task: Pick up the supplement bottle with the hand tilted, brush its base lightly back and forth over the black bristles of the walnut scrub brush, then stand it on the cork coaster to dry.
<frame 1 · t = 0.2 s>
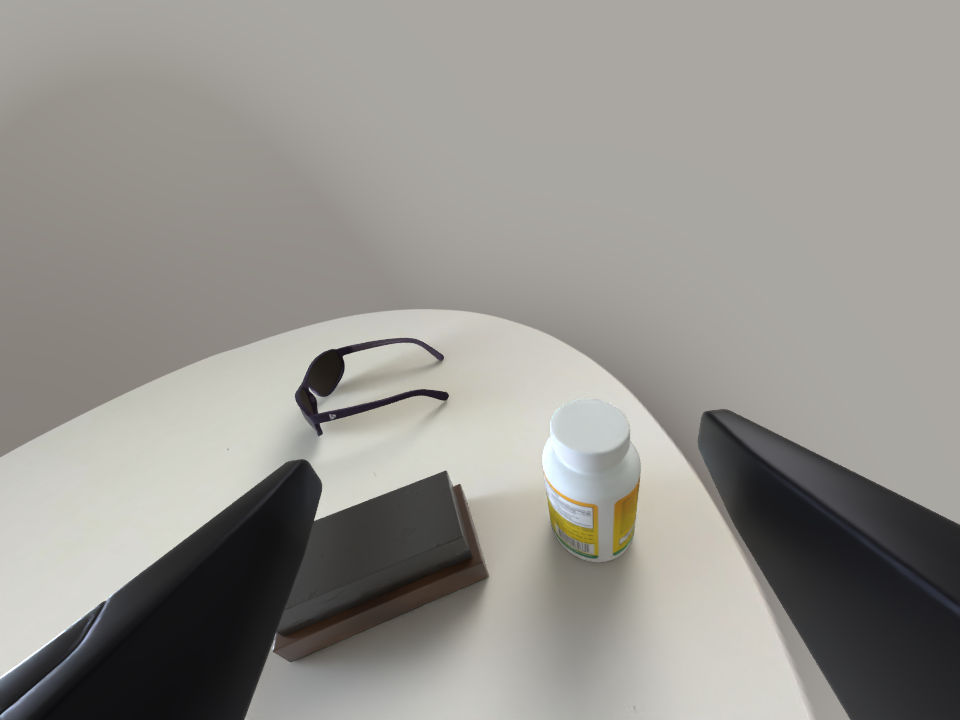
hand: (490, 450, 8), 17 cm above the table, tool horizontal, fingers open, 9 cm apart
sunglasses: (384, 394, 41), on the table
supplement bottle: (591, 524, 23), on the table
scrub brush: (390, 569, 23), on the table
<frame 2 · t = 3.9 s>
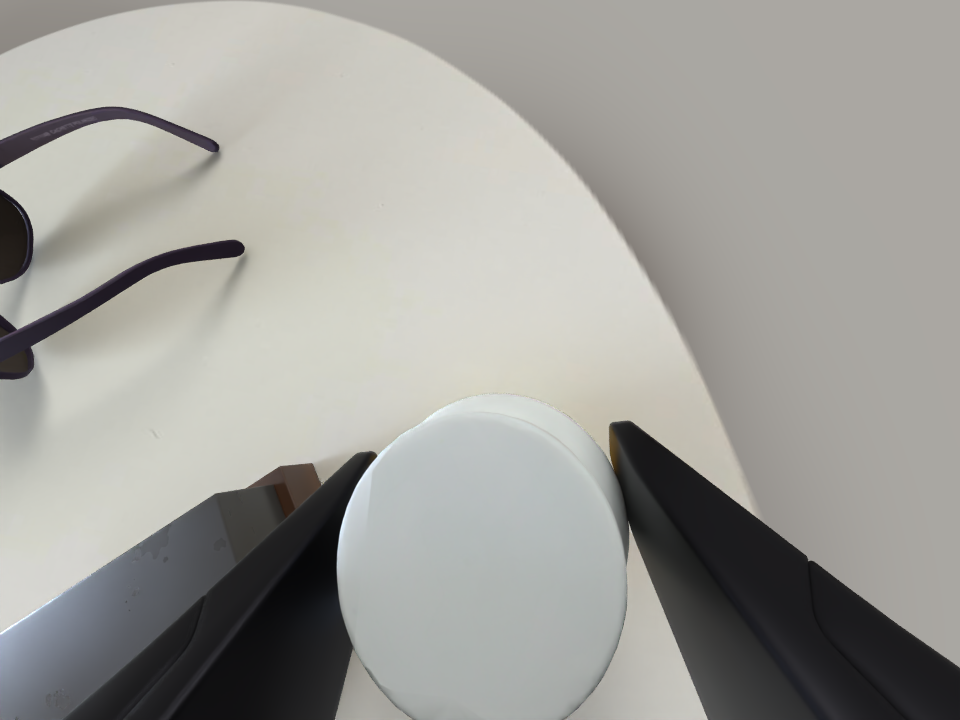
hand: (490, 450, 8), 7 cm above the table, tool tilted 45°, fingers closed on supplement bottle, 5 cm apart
sunglasses: (130, 254, 21), on the table
supplement bottle: (518, 481, 14), on the table, touching gripper
scrub brush: (218, 601, 15), on the table
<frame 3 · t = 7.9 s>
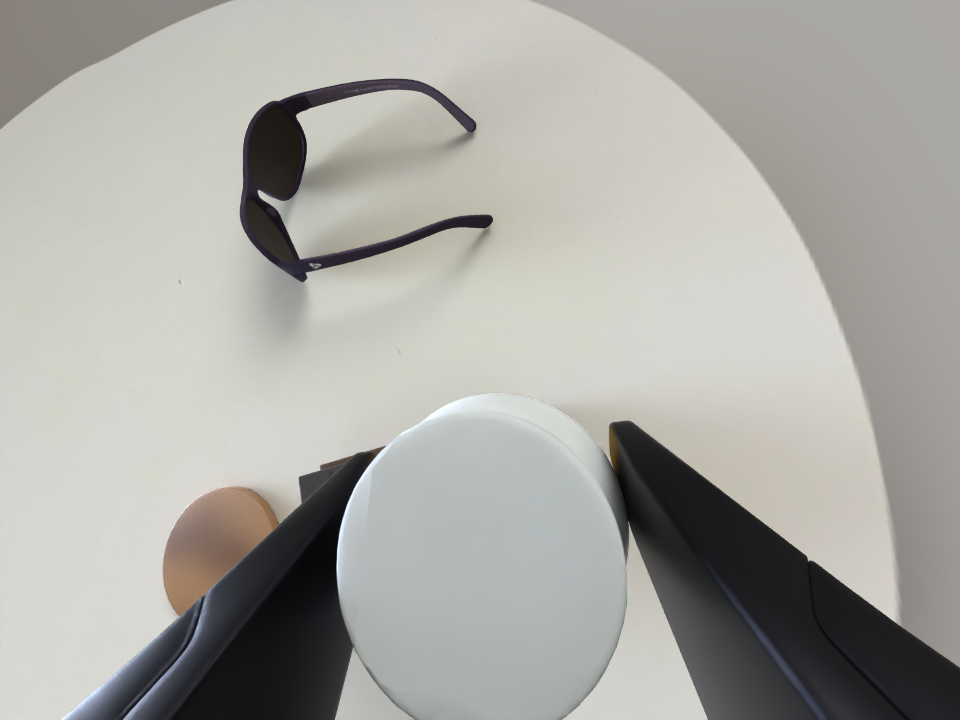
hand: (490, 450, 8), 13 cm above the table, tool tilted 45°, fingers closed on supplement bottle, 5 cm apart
sunglasses: (384, 200, 26), on the table
supplement bottle: (518, 480, 14), point 6 cm above the table, touching gripper
scrub brush: (443, 485, 20), on the table
cork coaster: (225, 553, 22), on the table
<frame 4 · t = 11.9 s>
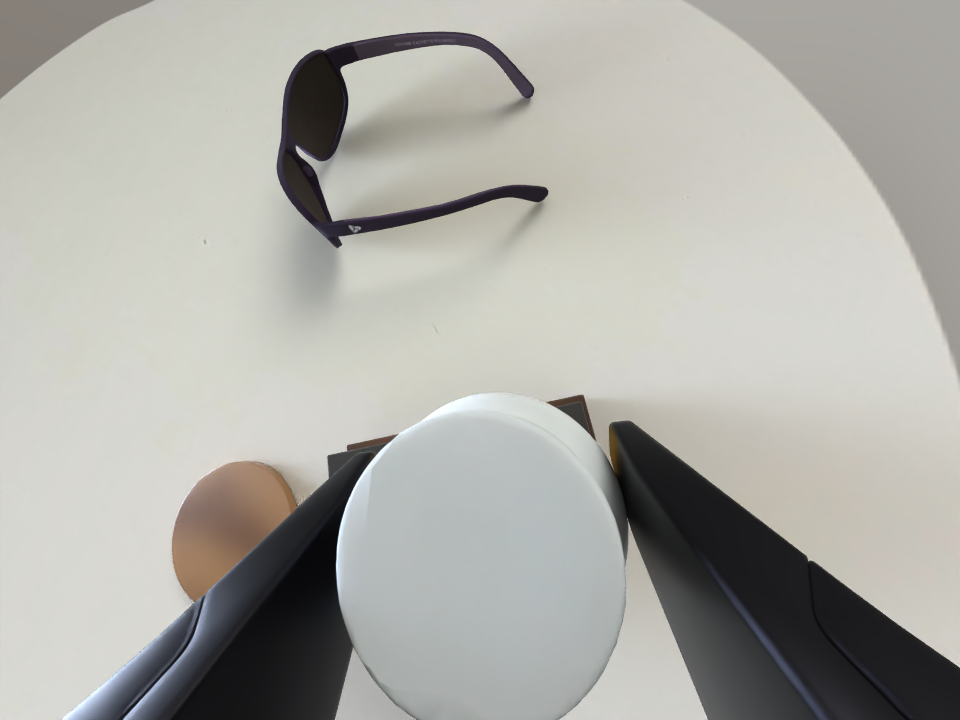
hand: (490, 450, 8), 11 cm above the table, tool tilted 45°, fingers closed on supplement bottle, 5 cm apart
sunglasses: (428, 168, 24), on the table
supplement bottle: (518, 480, 14), point 4 cm above the table, touching gripper
scrub brush: (477, 477, 18), on the table
cork coaster: (238, 530, 20), on the table
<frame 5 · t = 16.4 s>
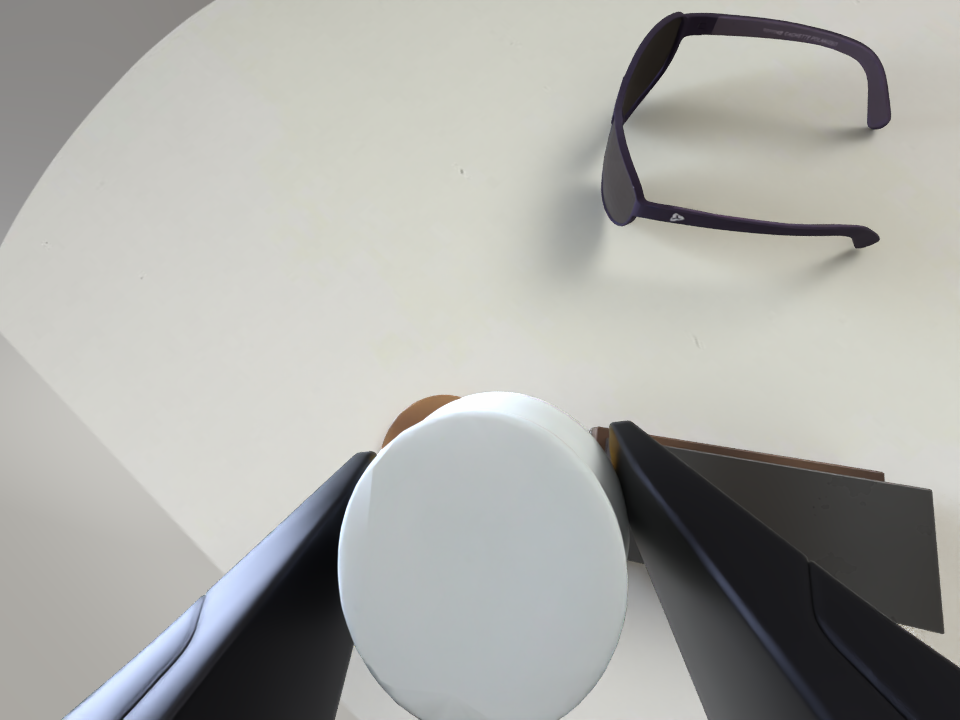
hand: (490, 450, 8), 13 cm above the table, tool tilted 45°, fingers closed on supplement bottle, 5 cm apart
sunglasses: (727, 170, 22), on the table
supplement bottle: (518, 480, 14), point 7 cm above the table, touching gripper
scrub brush: (708, 503, 18), on the table
cork coaster: (443, 459, 21), on the table
when the fingers open (7 cm above the table, at t = 20.1 s): supplement bottle stays where it is, resting on cork coaster.
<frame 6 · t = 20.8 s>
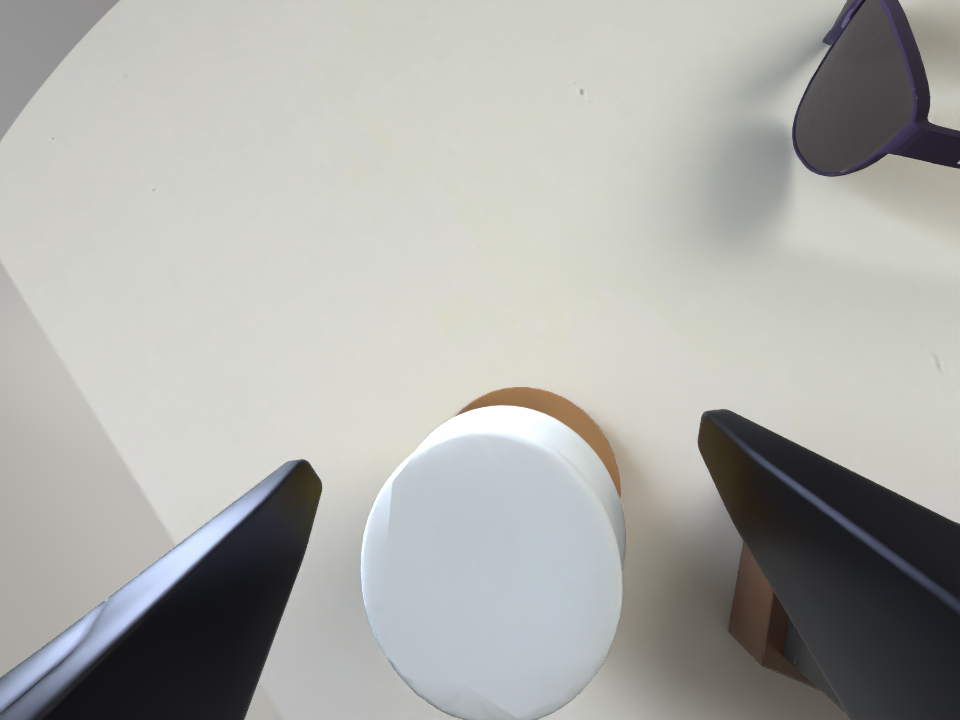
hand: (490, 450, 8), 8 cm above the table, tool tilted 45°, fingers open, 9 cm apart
supplement bottle: (520, 484, 14), resting on cork coaster
scrub brush: (952, 621, 11), on the table
cork coaster: (521, 479, 15), on the table
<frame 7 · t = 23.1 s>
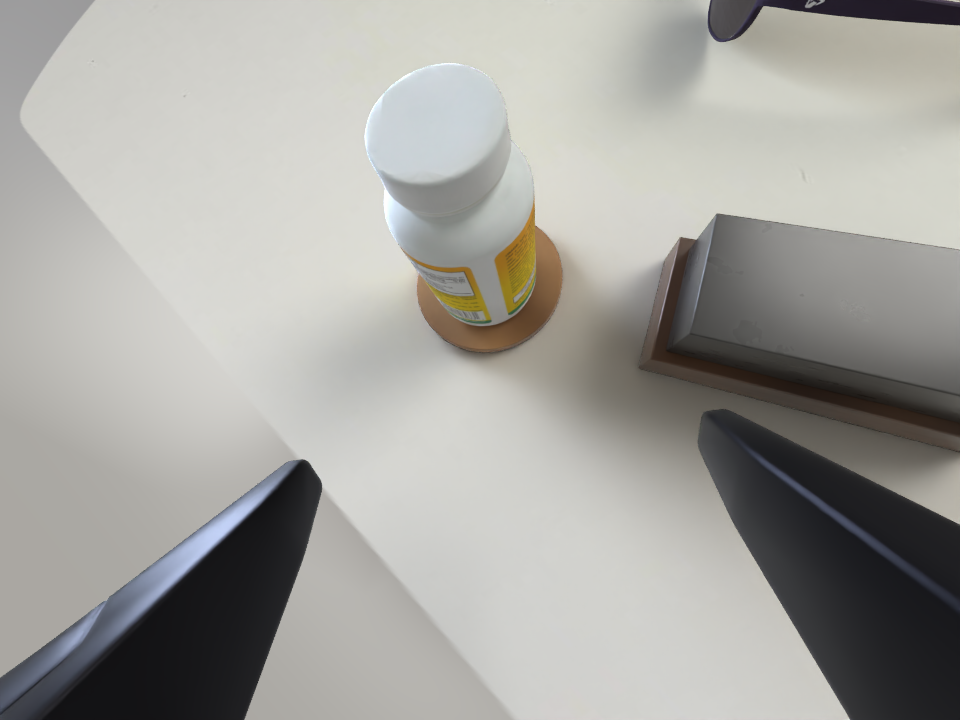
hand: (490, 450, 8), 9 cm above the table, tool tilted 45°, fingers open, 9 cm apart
supplement bottle: (487, 282, 18), resting on cork coaster
scrub brush: (797, 344, 15), on the table
cork coaster: (488, 283, 19), on the table
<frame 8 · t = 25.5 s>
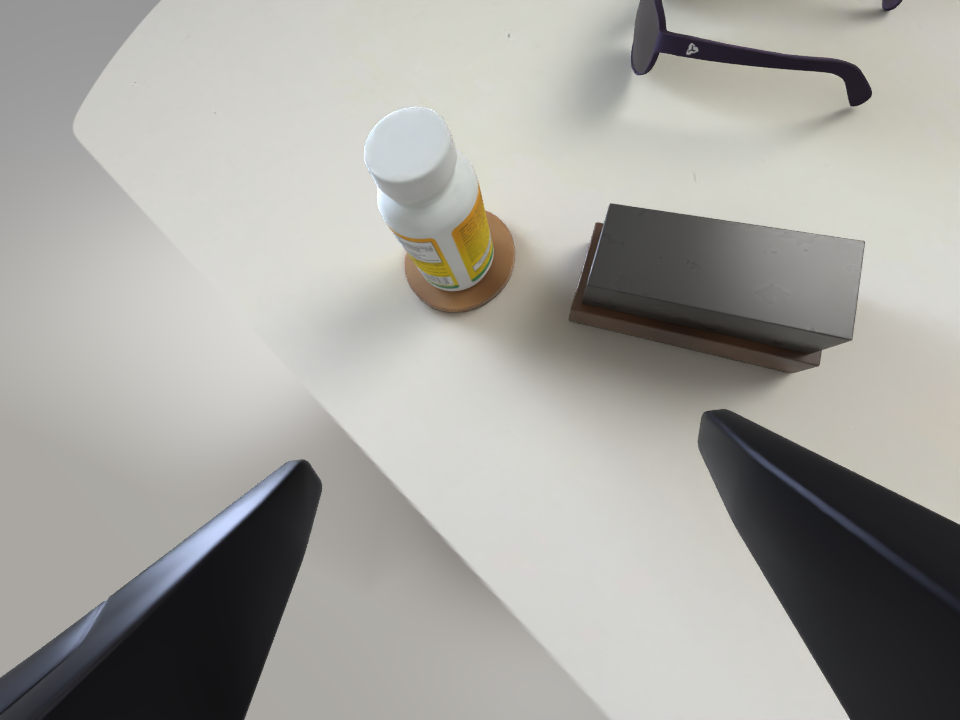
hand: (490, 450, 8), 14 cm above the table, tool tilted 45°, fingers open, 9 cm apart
sunglasses: (747, 42, 25), on the table
supplement bottle: (458, 259, 24), resting on cork coaster
scrub brush: (682, 300, 21), on the table
cork coaster: (459, 260, 24), on the table
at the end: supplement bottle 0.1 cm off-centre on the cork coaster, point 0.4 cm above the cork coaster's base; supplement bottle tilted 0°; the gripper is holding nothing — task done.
